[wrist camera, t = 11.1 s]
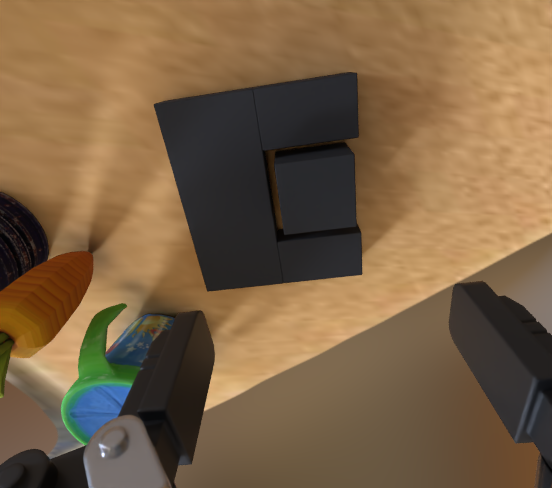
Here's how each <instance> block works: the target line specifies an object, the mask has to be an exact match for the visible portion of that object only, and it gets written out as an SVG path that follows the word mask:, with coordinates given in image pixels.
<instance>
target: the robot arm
mask: <svg viewBox="0 0 552 488" xmlns="http://www.w3.org/2000/svg"><path fill="white" fill-rule="evenodd" d="M449 330H450V334H451V337H452V339H453V341H454V343H455V345H456V346H457V348H458V350H459V351H460V353H461V355H462V356H463V358H464V360H465V361H466V363H467V364H468V366H469V368H470V369H471V371H472V372H473V374H474V376H475V378H476V379H477V381H478V383H479V384H480V386H481V387H482V389H483V391H484V392H485V394H486V396H487V397H488V399H489V401H490V402H491V404H492V405H493V407H494V409H495V410H496V412H497V414H498V415H499V417H500V419H501V420H502V422H503V423H504V425H505V427H506V428H507V430H508V432H509V433H510V435H511V437H512V438H513V440H514V441H515V443H529V442H534V444H535V445H536V447H537V448H538V450H539V451H540V454H539V457H538V462H537V470H536V478H535V487H534V488H552V335H551V334H550V333H547V330H546V329H545V328H544V327H543V326H542V325H541V324H540V323H539V322H536V319H535V318H534V317H533V316H532V315H531V314H530V313H529V312H528V311H527V310H526V308H525V307H524V306H522V305H520V304H519V303H517V302H515V301H513V300H512V299H510V298H508V297H506V296H497V295H496V294H495V292H493V290H492V289H491V288H490V287H489V286H488V285H487V284H486V283H485V282H483V281H477V282H468V283H458V284H455V285H454V287H453V293H452V301H451V309H450V317H449ZM145 357H146V358H145V359H144V360H143V362H142V365H141V367H140V371H138V373H137V376H136V378H135V380H134V382H133V384H132V387H131V389H130V391H129V393H128V395H127V397H126V400H125V402H124V404H123V406H122V408H121V411H120V413H119V415H118V417H117V418H114V419H112V420H110V421H108V422H107V423H106V424H104V425H103V426H102V427H100V428H99V429H98V430H97V431H96V432H95V433H94V435H93V436H92V437H91V439H90V440H89V442H88V444H87V445H85V446H83V447H81V448H78V449H76V450H73V451H71V452H68V453H65V454H63V455H60V456H58V457H55V458H52V459H49V457H48V456H47V455H46V454H45V453H44V452H43V451H41V450H38V449H30V450H26V451H23V452H21V453H18V454H16V455H14V456H13V457H11V458H9V459H8V460H7V461H5V462H4V463H3V464H1V465H0V488H177V486H176V483H175V481H174V479H175V476H176V472H177V468H178V465H188V464H192V461H193V456H194V452H195V447H196V443H197V438H198V434H199V429H200V425H201V420H202V415H203V411H204V407H205V402H206V398H207V393H208V389H209V384H210V380H211V375H212V370H213V366H214V360H215V352H214V345H213V341H212V338H211V335H210V332H209V329H208V326H207V323H206V319H205V316H204V314H203V312H202V311H191V312H182V313H178V314H177V315H176V317H175V320H174V322H173V325H172V327H171V329H170V330H163V331H162V332H161V333H160V334H159V335H158V336H157V337H156V338H155V340H154V341H153V342H152V343H151V345H150V347H149V349H148V352H147V354H146V356H145Z"/></svg>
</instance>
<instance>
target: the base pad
mask: <svg viewBox="0 0 552 488" xmlns="http://www.w3.org/2000/svg"><path fill="white" fill-rule="evenodd" d="M154 108H155V111H156V115H157V118H158V122H159V125H160V128H161V132H162V135H163V139H164V142H165V146H166V149H167V153H168V156H169V160H170V163H171V167H172V170H173V174H174V177H175V181H176V184H177V188H178V191H179V195H180V198H181V202H182V205H183V209H184V212H185V215H186V219H187V222H188V226H189V229H190V233H191V236H192V240H193V243H194V247H195V250H196V254H197V257H198V261H199V264H200V268H201V271H202V275H203V278H204V282H205V285H206V289H207V291H217V290H226V289H235V288H245V287H254V286H263V285H272V284H282V283H290V282H299V281H308V280H318V279H327V278H336V277H345V276H355V275H362V241H361V231H360V229H359V227H358V225H357V226H356V227H347V228H339V229H330V230H322V231H313V232H304V233H296V234H287V235H284V230H283V229H280V230H278V231H277V224H276V218H275V211H274V205H273V199H272V192H271V186H270V179H269V173H268V166H267V160H266V153H265V150H273V149H280V148H287V147H294V146H301V145H308V144H315V143H323V142H330V141H337V140H344V139H351V138H358V137H359V129H358V91H357V73H353V72H347V73H341V74H335V75H328V76H322V77H315V78H309V79H302V80H296V81H290V82H283V83H277V84H270V85H264V86H257V87H251V88H245V89H238V90H232V91H225V92H219V93H212V94H206V95H200V96H193V97H187V98H180V99H174V100H167V101H163V102H160V103H156V104H154Z"/></svg>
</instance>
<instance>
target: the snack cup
mask: <svg viewBox="0 0 552 488" xmlns="http://www.w3.org/2000/svg"><path fill="white" fill-rule="evenodd" d="M126 307H127V305H126V304H123V303H121V304H118V305H115V306H111V307H108V308H106V309H104V310H102V311H100V312H99V313H97V314H96V315H95V316H94V317H93V319H92V321H91V323H90V324H89V327H88V329H87V331H86V334H85V337H84V340H83V343H82V346H81V349H80V356H79V364H78V371H79V379H78V380H77V381H76V382H75V383H74V384H73V385H72V387H71V388H70V389H69V391H68V392H67V394H66V395H65V397H64V399H63V401H62V406H61V413H62V419H63V421H64V424H65V426H66V427H67V429H68V430H69V432H70V433H71V434H72V435H73V436H74V437H75V438H76V439H77V440H78V441H80V442H81V443H82V444H84V445H87V444H88V442H89V440H90V439H91V437H92V436H93V435H94V433H95V432H96V431H97V430H98V429H99V428H100V427H102V426H103V425H104V424H106V423H107V422H108V421H110V420H112V419H114V418H117V417H118V415H119V413H120V411H121V408H122V406H123V404H124V402H125V400H126V397H127V395H128V393H129V391H130V389H131V387H132V384H133V382H134V380H135V378H136V376H137V373H138V371H140V367H141V365H142V362H143V360H144V359H145V358H146V357H145V356H146V354H147V352H148V349H149V347H150V345H151V343H152V342H153V341H154V340H155V338H156V337H157V336H158V335H159V334H160V333H161V332H162V331H163V330H170V329H171V327H172V325H173V322H174V320H175V318H173V317H170V316H166V315H161V314H147V315H144V316H142V317H141V318H139V319H138V320H136V321H135V322H134V323H132V324H131V325H130V326H129V327H128V328H127V329H126V330H125V331H124V333H123V334H122V335H121V336H120V337H119V338H118V339H117V340H116V341H115V342H114V344H113V345H112V346H111V347H110V348H109V349H108V350H107V352H106V340H107V328H108V325H109V324H110V323H111V322H112V321H113V320H114V319H115V318H116V317H117V316H118V315H119V314H120V312H121V311H122V310H123V309H125V308H126ZM105 352H106V353H105Z"/></svg>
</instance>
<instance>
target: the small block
mask: <svg viewBox="0 0 552 488" xmlns="http://www.w3.org/2000/svg"><path fill="white" fill-rule="evenodd" d="M274 167H275V174H276V181H277V188H278V195H279V202H280V209H281V216H282V223H283V230H284V235H287V234H296V233H304V232H313V231H322V230H330V229H339V228H347V227H356V226H357V221H356V189H355V156H354V153H353V152H352V150H351V149H350V148H349V147H348V146H347V144H346V143H345V142H343V143H335V144H328V145H321V146H313V147H306V148H299V149H291V150H284V151H277V152H275V163H274Z"/></svg>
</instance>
